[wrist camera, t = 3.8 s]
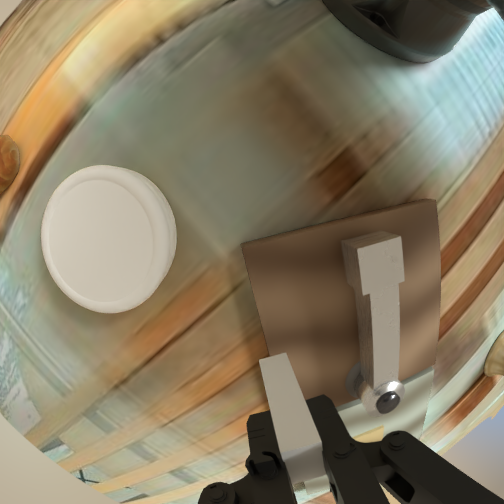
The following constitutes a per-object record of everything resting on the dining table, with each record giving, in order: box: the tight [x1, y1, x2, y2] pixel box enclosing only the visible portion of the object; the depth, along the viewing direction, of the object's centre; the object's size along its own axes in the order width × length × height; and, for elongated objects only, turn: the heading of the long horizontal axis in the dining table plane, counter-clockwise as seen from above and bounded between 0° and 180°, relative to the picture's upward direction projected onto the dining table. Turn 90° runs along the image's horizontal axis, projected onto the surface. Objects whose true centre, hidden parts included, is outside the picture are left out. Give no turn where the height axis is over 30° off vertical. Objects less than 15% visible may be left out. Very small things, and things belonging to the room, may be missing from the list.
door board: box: [241, 199, 441, 495], centre depth 22 cm, size 34×16×4 cm, turn 14°
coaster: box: [41, 165, 177, 313], centre depth 18 cm, size 10×10×4 cm
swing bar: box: [341, 231, 405, 417], centre depth 18 cm, size 15×4×4 cm, turn 14°
